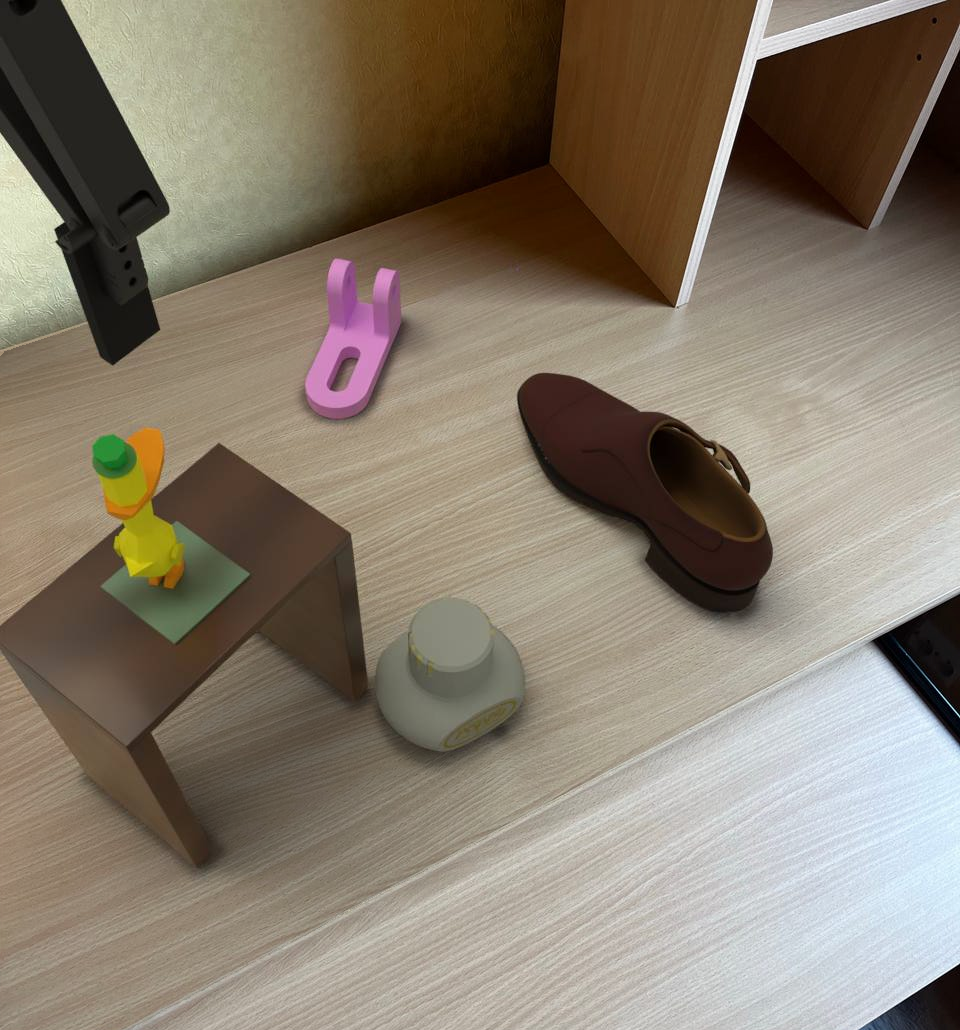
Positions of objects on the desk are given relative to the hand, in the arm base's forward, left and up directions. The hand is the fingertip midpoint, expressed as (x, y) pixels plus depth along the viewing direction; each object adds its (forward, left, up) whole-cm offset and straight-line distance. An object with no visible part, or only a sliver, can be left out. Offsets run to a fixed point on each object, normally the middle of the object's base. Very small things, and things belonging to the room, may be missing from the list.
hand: (22, 270), depth 48 cm
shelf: (+5, -1, -39) cm, 40 cm away
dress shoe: (+16, +36, -40) cm, 55 cm away
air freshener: (+16, +11, -40) cm, 44 cm away
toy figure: (+4, -1, -19) cm, 20 cm away
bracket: (-12, +32, -40) cm, 53 cm away
